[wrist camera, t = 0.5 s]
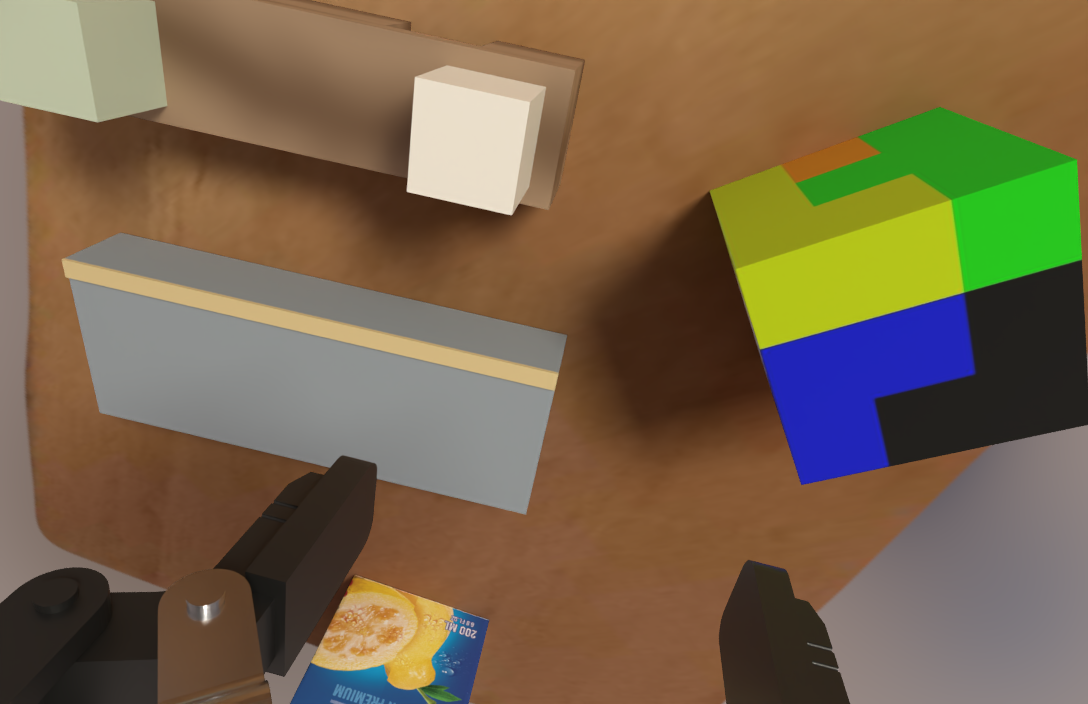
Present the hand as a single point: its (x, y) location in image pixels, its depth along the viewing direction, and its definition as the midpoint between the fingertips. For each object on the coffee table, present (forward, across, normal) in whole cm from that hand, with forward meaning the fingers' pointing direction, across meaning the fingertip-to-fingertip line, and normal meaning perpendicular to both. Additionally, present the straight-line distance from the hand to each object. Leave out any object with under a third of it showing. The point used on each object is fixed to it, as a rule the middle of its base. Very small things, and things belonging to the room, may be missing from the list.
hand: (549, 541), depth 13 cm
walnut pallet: (+20, +14, -7) cm, 26 cm away
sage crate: (+15, +22, -6) cm, 28 cm away
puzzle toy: (+22, -11, -3) cm, 24 cm away
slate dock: (+22, +14, +9) cm, 28 cm away
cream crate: (+16, +6, -6) cm, 18 cm away
